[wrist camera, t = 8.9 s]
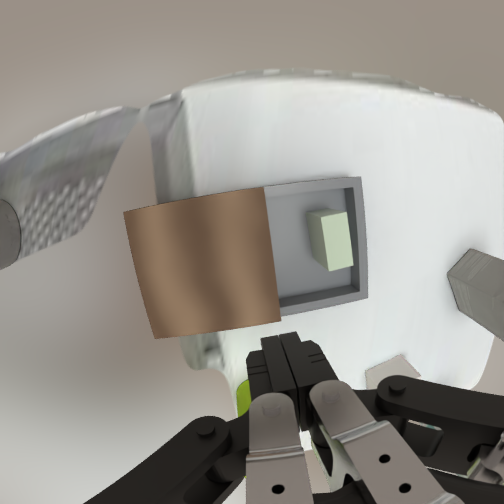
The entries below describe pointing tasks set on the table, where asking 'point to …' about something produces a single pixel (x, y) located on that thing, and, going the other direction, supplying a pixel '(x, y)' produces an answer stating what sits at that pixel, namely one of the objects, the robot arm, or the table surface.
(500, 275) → the skincare box
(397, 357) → the white cube
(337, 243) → the tile
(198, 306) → the brown flat square block
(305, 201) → the box
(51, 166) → the table surface
